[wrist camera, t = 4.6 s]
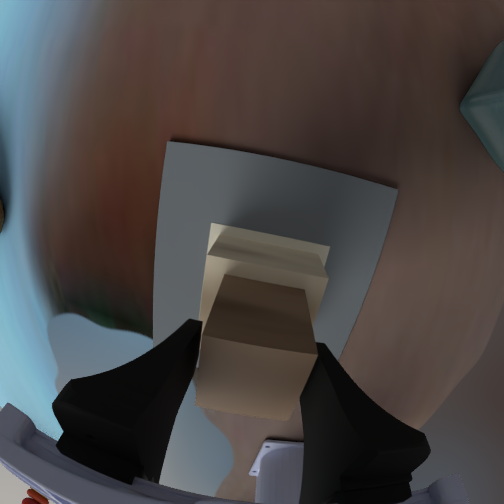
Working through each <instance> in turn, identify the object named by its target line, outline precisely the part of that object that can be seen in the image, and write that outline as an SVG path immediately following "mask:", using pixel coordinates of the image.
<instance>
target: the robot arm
mask: <svg viewBox="0 0 504 504" xmlns="http://www.w3.org/2000/svg"><path fill="white" fill-rule="evenodd" d="M202 325H203V321H199V320H195V319H190V318H189V319H188V320H186V321H185V322H184V323H183V324H182V325H181V326H180V327H179V328H178V329H177V330H176V331H175V332H173V333H172V334H171V335H170V336H169V337H167V338H166V339H165V340H164V341H162V342H161V343H160V344H158V345H157V346H155V347H154V348H153V349H151V350H150V351H148V352H146V353H145V354H143V355H142V356H140V357H138V358H136V359H134V360H133V361H131V362H129V363H126V364H124V365H122V366H120V367H117V368H115V369H112V370H109V371H106V372H103V373H100V374H96V375H92V376H88V377H82V378H77V379H71V380H70V381H69V382H68V383H67V384H66V386H65V387H64V388H63V390H62V391H61V392H60V393H59V395H58V396H57V398H56V399H55V400H54V402H53V403H52V409H53V412H54V415H55V417H56V419H57V420H58V422H59V424H60V426H61V428H62V430H63V431H64V432H63V434H62V435H61V437H60V439H59V440H58V441H56V440H54V439H53V438H51V437H49V436H48V435H46V434H44V433H43V432H41V431H39V430H38V429H36V426H35V424H34V423H33V421H32V420H31V419H30V418H29V417H28V416H27V415H26V414H24V413H23V412H21V411H20V410H19V409H17V408H16V407H14V406H13V405H12V404H10V403H7V404H6V405H5V406H4V407H3V409H2V410H1V411H0V463H2V465H3V466H4V467H5V468H6V469H7V470H9V471H10V472H11V473H12V474H14V475H15V476H16V477H18V478H19V479H20V480H22V481H23V482H25V483H26V484H27V485H29V486H30V487H32V488H33V489H34V490H36V491H37V492H39V493H40V494H42V495H43V496H45V497H46V498H48V499H49V500H51V501H53V502H55V503H56V504H470V503H469V500H468V497H467V494H466V491H465V489H464V485H463V483H462V480H461V477H460V475H459V473H455V474H452V475H449V476H446V477H443V478H440V479H439V480H437V481H435V482H434V483H432V484H431V485H430V486H429V487H428V488H424V489H421V490H417V491H413V492H411V489H410V485H409V482H410V481H412V475H411V472H413V471H414V470H415V469H416V468H417V467H418V466H420V465H421V464H422V463H423V462H424V461H425V460H426V459H427V458H428V456H429V454H430V451H431V449H430V446H429V444H428V441H427V439H426V436H425V434H424V433H422V432H420V431H418V430H416V429H414V428H412V427H410V426H408V425H406V424H404V423H403V422H401V421H400V420H398V419H396V418H395V417H393V416H392V415H390V414H389V413H387V412H386V411H385V410H384V409H382V408H381V407H380V406H378V405H377V404H376V403H375V402H374V401H373V400H372V399H370V398H369V397H368V396H367V395H366V394H365V393H364V392H363V391H362V390H361V389H360V388H359V387H358V386H357V384H356V383H355V382H354V381H353V380H352V379H351V377H350V376H349V375H348V374H347V373H346V371H345V370H344V369H343V367H342V366H341V365H340V363H339V362H338V361H337V359H336V358H335V357H334V355H333V354H332V352H331V351H330V350H329V348H328V347H327V346H326V344H325V343H320V342H316V347H317V352H318V356H317V359H316V361H315V363H314V366H313V368H312V370H311V373H310V375H309V377H308V380H307V382H306V384H305V386H304V389H303V391H302V393H301V395H300V405H301V414H302V422H303V432H304V442H289V441H278V440H265V441H264V443H263V445H262V447H261V449H260V451H259V453H258V455H257V457H256V459H255V461H254V463H253V465H252V467H251V469H250V471H249V475H252V476H257V481H256V493H255V503H254V502H244V501H236V500H229V499H222V498H216V497H210V496H205V495H200V494H196V493H191V492H186V491H182V490H178V489H174V488H171V487H167V486H164V485H160V484H159V479H160V475H161V470H162V466H163V462H164V458H165V454H166V450H167V447H168V443H169V439H170V435H171V432H172V429H173V425H174V422H175V418H176V415H177V413H178V410H179V407H180V405H181V403H182V400H183V398H184V395H185V393H186V391H187V389H188V386H189V384H190V382H191V379H192V377H193V375H194V372H195V368H196V365H197V361H198V358H199V352H200V343H201V334H202Z"/></svg>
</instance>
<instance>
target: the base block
mask: <svg viewBox="0 0 504 504" xmlns="http://www.w3.org/2000/svg"><path fill="white" fill-rule="evenodd" d="M224 274H226V275H231V276H236V277H241V278H247V279H252V280H257V281H262V282H267V283H273V284H278V285H283V286H289V287H294V288H300V289H305V293H306V298H307V302H308V307H309V312H310V317H311V322H312V327H313V324H314V321H315V318H316V316H317V313H318V310H319V307H320V304H321V301H322V298H323V295H324V292H325V289H326V286H327V282H328V279H329V278H328V276H327V273H326V271H325V269H324V266H323V264H322V262H321V259H320V257H319V255H318V254H316V253H311V252H306V251H301V250H296V249H291V248H286V247H281V246H276V245H271V244H266V243H261V242H256V241H251V240H246V239H241V238H236V237H231V236H226V235H221V234H220V235H219V236H218V238H217V239H216V241H215V243H214V244H213V246H212V247H211V249H210V251H209V252H208V254H207V258H206V266H205V274H204V282H203V290H202V298H201V307H200V316H199V321H203V325H202V333H203V330H204V327H205V325H206V322H207V319H208V317H209V314H210V311H211V309H212V306H213V303H214V300H215V298H216V295H217V293H218V290H219V287H220V285H221V282H222V279H223V277H224ZM201 337H202V334H201ZM200 347H201V343H200Z"/></svg>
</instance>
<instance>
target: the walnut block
mask: <svg viewBox="0 0 504 504" xmlns="http://www.w3.org/2000/svg"><path fill="white" fill-rule="evenodd" d="M317 356H318V352H317V347H316V342H315V337H314V332H313V327H312V322H311V317H310V312H309V307H308V302H307V298H306V293H305V289H300V288H294V287H289V286H283V285H278V284H273V283H267V282H262V281H257V280H252V279H247V278H241V277H236V276H231V275H226V274H224V277H223V279H222V282H221V285H220V287H219V290H218V293H217V295H216V298H215V300H214V303H213V306H212V309H211V311H210V314H209V317H208V319H207V322H206V325H205V327H204V330H203V333H202V337H201V347H200V357H199V367H198V377H197V389H196V401H195V406H199V407H204V408H208V409H213V410H218V411H223V412H228V413H234V414H239V415H246V416H252V417H259V418H266V419H275V420H284V421H288V420H289V418H290V416H291V414H292V412H293V410H294V408H295V406H296V404H297V402H298V399H299V397H300V395H301V393H302V391H303V389H304V386H305V384H306V382H307V380H308V377H309V375H310V373H311V370H312V368H313V366H314V363H315V361H316V359H317Z"/></svg>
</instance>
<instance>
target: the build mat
mask: <svg viewBox="0 0 504 504" xmlns="http://www.w3.org/2000/svg"><path fill="white" fill-rule="evenodd" d="M397 194H398V190H397V189H394V188H391V187H387V186H384V185H381V184H378V183H374V182H371V181H368V180H364V179H361V178H357V177H354V176H350V175H346V174H343V173H339V172H335V171H331V170H327V169H323V168H319V167H315V166H311V165H307V164H302V163H298V162H293V161H289V160H284V159H279V158H274V157H269V156H264V155H259V154H253V153H248V152H242V151H236V150H230V149H224V148H217V147H210V146H203V145H195V144H188V143H179V142H170V141H167V148H166V154H165V161H164V168H163V176H162V184H161V192H160V201H159V211H158V222H157V234H156V248H155V266H154V292H153V348H154V347H155V346H157V345H158V344H160V343H161V342H162V341H164V340H165V339H166V338H167V337H169V336H170V335H171V334H172V333H173V332H175V331H176V330H177V329H178V328H179V327H180V326H181V325H182V324H183V323H184V322H185V321H186V320H188V319H189V318H190V319H195V320H199V316H200V307H201V298H202V290H203V282H204V274H205V266H206V258H207V254H208V252H209V251H210V249H211V247H212V246H213V244H214V243H215V241H216V239H217V238H218V236H219V235H220V234H221V235H226V236H231V237H236V238H241V239H246V240H251V241H256V242H261V243H266V244H271V245H276V246H281V247H286V248H291V249H296V250H301V251H306V252H311V253H316V254H318V255H319V257H320V259H321V262H322V264H323V266H324V269H325V271H326V273H327V276H328V278H329V279H328V282H327V286H326V289H325V292H324V295H323V298H322V301H321V304H320V307H319V310H318V313H317V316H316V318H315V321H314V324H313V332H314V337H315V342H320V343H325V344H326V346H327V347H328V348H329V350H330V351H331V352H332V354H333V355H334V357H335V358H336V359H337V361H338V359H339V357H340V355H341V353H342V351H343V349H344V346H345V344H346V342H347V340H348V337H349V335H350V333H351V330H352V328H353V326H354V323H355V321H356V318H357V316H358V314H359V311H360V309H361V306H362V304H363V301H364V298H365V296H366V293H367V290H368V288H369V285H370V282H371V280H372V277H373V274H374V271H375V268H376V265H377V262H378V259H379V256H380V253H381V250H382V247H383V244H384V241H385V237H386V234H387V231H388V227H389V224H390V220H391V217H392V213H393V210H394V206H395V202H396V198H397ZM199 357H200V352H199ZM196 367H199V358H198V361H197V365H196Z"/></svg>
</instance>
